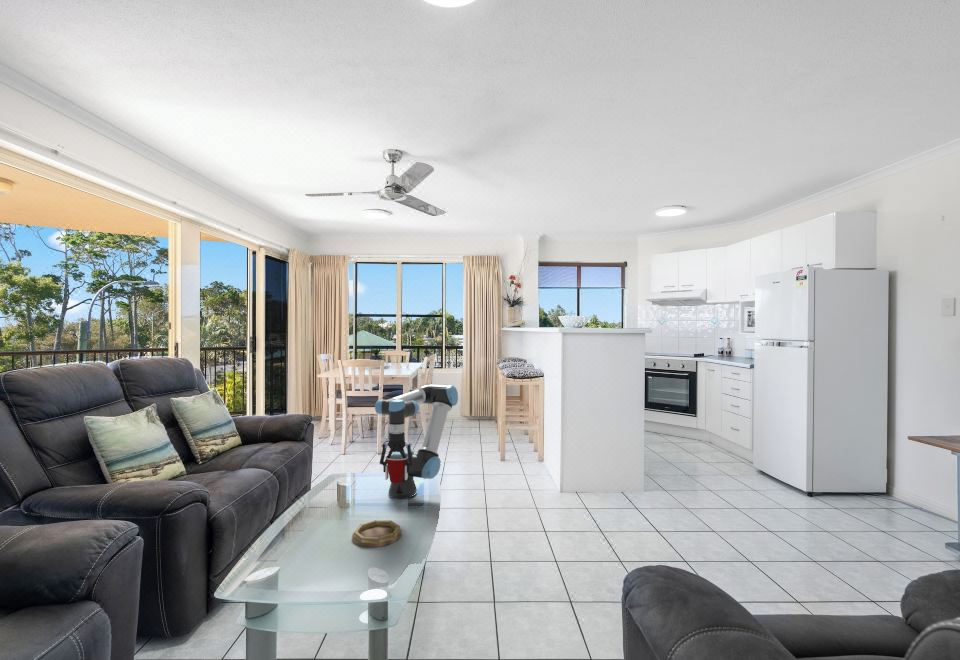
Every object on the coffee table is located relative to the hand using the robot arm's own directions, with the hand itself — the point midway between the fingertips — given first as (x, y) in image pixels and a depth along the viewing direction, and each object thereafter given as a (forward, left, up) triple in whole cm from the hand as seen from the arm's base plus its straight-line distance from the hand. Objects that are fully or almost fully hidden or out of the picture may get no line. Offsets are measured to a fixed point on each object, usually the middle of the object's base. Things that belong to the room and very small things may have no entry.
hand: (396, 479), depth 215 cm
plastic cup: (0, 0, -1) cm, 1 cm away
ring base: (+17, +14, -18) cm, 28 cm away
